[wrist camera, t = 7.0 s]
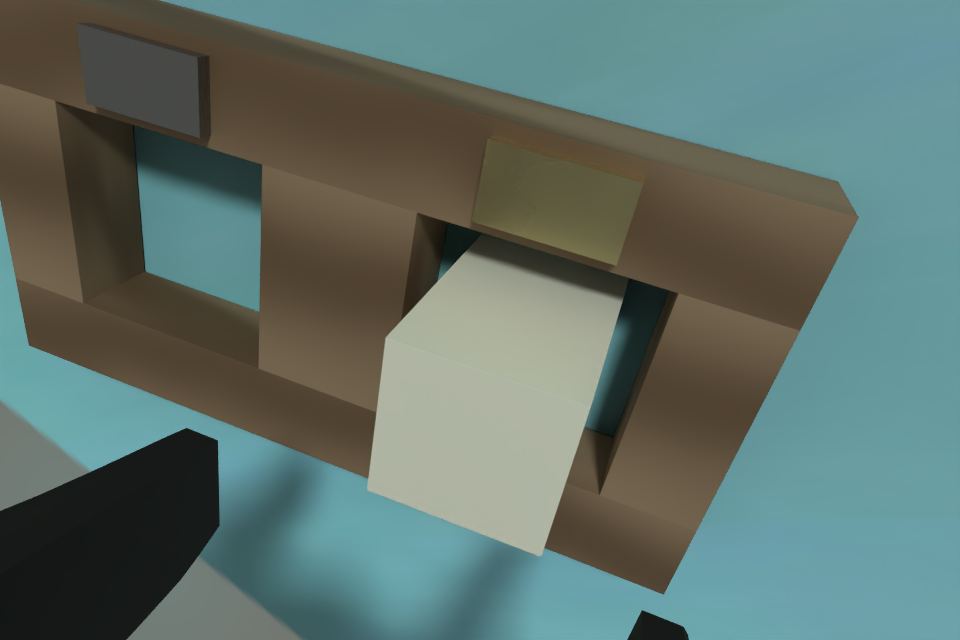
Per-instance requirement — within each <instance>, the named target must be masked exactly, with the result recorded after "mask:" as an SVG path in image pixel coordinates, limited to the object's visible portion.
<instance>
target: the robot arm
mask: <svg viewBox="0 0 960 640" xmlns="http://www.w3.org/2000/svg"><path fill="white" fill-rule="evenodd" d="M219 526H220V523H219V474H218V440H215V439H213V438H210V437H208V436H205V435H203V434H200V433H198V432H195V431H193V430H190V429H188V428H186V429H183V430H181V431H179V432H176V433H174V434H172V435H170V436H167V437H165V438H163V439H161V440H159V441H157V442H154V443H152V444H150V445H148V446H146V447H144V448H141V449H139V450H137V451H135V452H133V453H131V454H129V455H126V456H124V457H122V458H120V459H118V460H116V461H114V462H111V463H109V464H107V465H105V466H103V467H101V468H98V469H96V470H94V471H92V472H90V473H87V474H85V475H83V476H81V477H78V478H76V479H74V480H72V481H70V482H67V483H65V484H63V485H61V486H59V487H56V488H54V489H52V490H50V491H47V492H46V493H43V494H41V495H38V496H36V497H33V498H32V499H29V500H26V501H24V502H21V503H19V504H16V505H14V506H12V507H9V508H7V509H4V510H2V511H0V640H126V639H127V638H128V637H129V636H130V635H131V634H132V633H133V632H134V631H135V630H136V629H137V627H138V626H139V625H140V624H141V623H142V622H143V621H144V620H145V619H146V618H147V617H148V615H149V614H150V613H151V612H152V611H153V610H154V609H155V607H157V605H158V604H159V603H160V602H161V601H162V600H163V599H164V598H165V597H166V596H167V594H168V593H169V592H170V591H171V590H172V589H173V587H175V585H176V584H177V583H178V582H179V581H180V580H181V578H182V577H183V576H184V574H185V573H186V572H187V570H188V569H189V568H190V566H191V565H192V564H193V562H194V561H195V560H196V558H197V557H198V556H199V554H200V553H201V551H202V550H203V548H204V547H205V546H206V544H207V543H208V541H209V540H210V538H211V537H212V536H213V534H214V533H215V531H216V530H217V528H218V527H219ZM627 640H689V639H688V634H687V632H686V630H685V629H684V627H683V626H680V625H678V624H675V623H673V622H670V621H668V620H665V619H663V618H660V617H658V616H655V615H653V614H650V613H648V612H645V611H643V610H642V611H641V613H640V615H639V617H638V619H637V621H636V623H635V625H634V627H633V629H632V631H631V633H630V635H629V637H628V639H627Z"/></svg>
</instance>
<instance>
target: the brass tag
mask: <svg viewBox="0 0 960 640" xmlns="http://www.w3.org/2000/svg"><path fill="white" fill-rule="evenodd" d="M644 181H645V177H641V176H638V175H634V174H630V173H627V172H623V171H620V170H616V169H613V168H609V167H605V166H602V165H598V164H595V163H591V162H588V161H584V160H580V159H577V158H573V157H570V156H566V155H563V154H559V153H555V152H552V151H548V150H545V149H541V148H538V147H534V146H530V145H527V144H523V143H520V142H516V141H513V140H509V139H505V138H502V137H498V136H495V135H493V136H492V137H490V138H489V139H488V140H487V146H486V151H485V156H484V161H483V166H482V171H481V176H480V182H479V187H478V192H477V197H476V202H475V207H474V212H473V217H472V222H475V223H478V224H481V225H485V226H488V227H491V228H495V229H498V230H501V231H504V232H508V233H511V234H514V235H517V236H521V237H524V238H527V239H530V240H534V241H537V242H540V243H543V244H547V245H550V246H553V247H557V248H560V249H563V250H566V251H570V252H573V253H576V254H579V255H583V256H586V257H589V258H592V259H596V260H599V261H602V262H605V263H609V264H612V265H615V266H616V265H617V263H618V260H619V257H620V254H621V251H622V248H623V245H624V242H625V239H626V236H627V233H628V230H629V226H630V223H631V220H632V217H633V214H634V211H635V208H636V205H637V202H638V199H639V196H640V193H641V190H642V187H643V184H644Z"/></svg>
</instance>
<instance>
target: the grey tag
mask: <svg viewBox="0 0 960 640" xmlns="http://www.w3.org/2000/svg"><path fill="white" fill-rule="evenodd" d="M77 29H78V38H79V46H80V55H81V63H82V72H83V80H84V89H85V97H86V103H87V104H90V105H93V106H97V107H100V108H103V109H106V110H110V111H113V112H116V113H119V114H123V115H126V116H129V117H132V118H136V119H139V120H142V121H145V122H149V123H152V124H155V125H159V126H162V127H165V128H168V129H172V130H175V131H178V132H181V133H185V134H188V135H191V136H194V137H198V138H202V137H205V136H208V135H211V110H210V65H209V55H205V54H202V53H198V52H194V51H191V50H187V49H184V48H180V47H177V46H173V45H169V44H166V43H162V42H159V41H155V40H152V39H148V38H144V37H141V36H137V35H134V34H130V33H127V32H123V31H119V30H116V29H112V28H109V27H105V26H102V25H98V24H94V23H78V24H77Z"/></svg>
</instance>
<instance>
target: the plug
mask: <svg viewBox="0 0 960 640" xmlns="http://www.w3.org/2000/svg"><path fill="white" fill-rule="evenodd" d="M628 281H629V278H627V277H624V276H621V275H618V274H615V273H611V272H608V271H605V270H602V269H598V268H595V267H592V266H589V265H585V264H582V263H579V262H576V261H572V260H569V259H566V258H563V257H559V256H556V255H553V254H550V253H546V252H543V251H539V250H536V249H533V248H529V247H526V246H523V245H519V244H516V243H512V242H509V241H506V240H502V239H499V238H495V237H492V236H489V235H485V234H481V235H480V236H479V238H478V239H477V240H476V241H475V242H474V243H473V244H472V245H471V246H470V247H469V248H468V249H467V250H466V252H465V253H464V254H463V255H462V256H461V257H460V258H459V259H458V260H457V261H456V262H455V263H454V265H453V266H452V267H451V268H450V269H449V270H448V271H447V272H446V273H445V274H444V275H443V276H442V277H441V279H440V280H439V281H438V282H437V283H436V284H435V285H434V286H433V287H432V288H431V289H430V290H429V291H428V293H427V294H426V295H425V296H424V297H423V298H422V299H421V300H420V301H419V302H418V303H417V304H416V305H415V307H414V308H413V309H412V310H411V311H410V312H409V313H408V314H407V315H406V316H405V317H404V318H403V319H402V321H401V322H400V323H399V324H398V325H397V326H396V327H395V328H394V329H393V330H392V331H391V332H390V333H389V335H388V336H387V337H386V339H385V347H384V355H383V363H382V371H381V380H380V388H379V396H378V404H377V412H376V421H375V429H374V437H373V445H372V453H371V462H370V470H369V478H368V486H367V490H368V491H371V492H374V493H376V494H379V495H381V496H384V497H387V498H389V499H392V500H394V501H397V502H400V503H402V504H405V505H407V506H410V507H413V508H415V509H418V510H420V511H423V512H426V513H428V514H431V515H433V516H436V517H439V518H441V519H444V520H446V521H449V522H452V523H454V524H457V525H459V526H462V527H464V528H467V529H470V530H472V531H475V532H477V533H480V534H483V535H485V536H488V537H490V538H493V539H496V540H498V541H501V542H503V543H506V544H509V545H511V546H514V547H516V548H519V549H522V550H524V551H527V552H529V553H532V554H535V555H537V556H540V557H541V556H542V553H543V550H544V547H545V544H546V541H547V538H548V535H549V532H550V529H551V526H552V523H553V520H554V517H555V514H556V511H557V508H558V505H559V502H560V499H561V496H562V493H563V490H564V487H565V483H566V480H567V477H568V474H569V471H570V468H571V465H572V462H573V459H574V456H575V453H576V450H577V447H578V444H579V441H580V438H581V435H582V432H583V429H584V426H585V423H586V420H587V417H588V414H589V411H590V408H591V405H592V401H593V398H594V395H595V391H596V388H597V385H598V381H599V378H600V375H601V371H602V368H603V365H604V361H605V358H606V355H607V351H608V348H609V345H610V341H611V338H612V335H613V331H614V328H615V325H616V321H617V318H618V315H619V311H620V308H621V305H622V301H623V298H624V295H625V291H626V288H627V285H628Z"/></svg>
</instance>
